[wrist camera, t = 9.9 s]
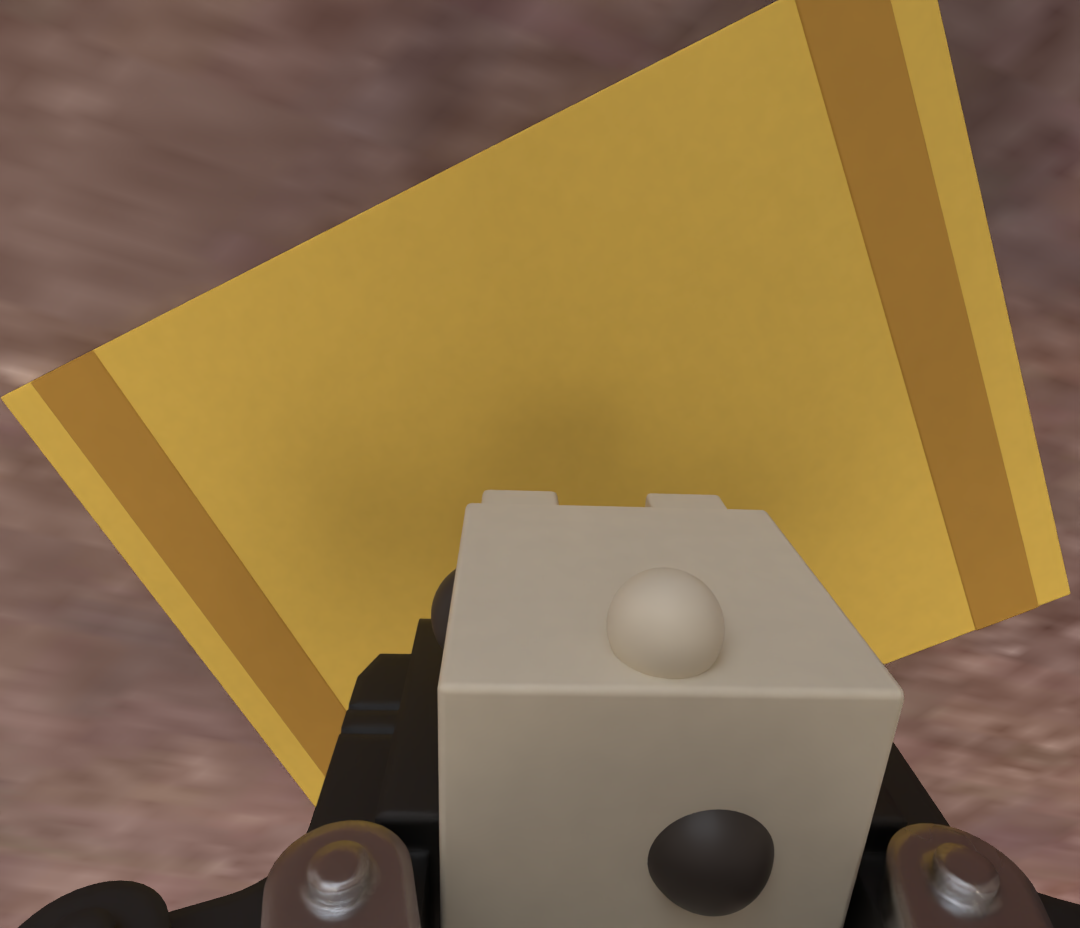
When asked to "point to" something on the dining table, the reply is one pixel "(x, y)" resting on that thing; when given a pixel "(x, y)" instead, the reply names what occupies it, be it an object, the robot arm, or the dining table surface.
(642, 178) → the towel
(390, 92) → the dining table surface
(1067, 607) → the dining table surface
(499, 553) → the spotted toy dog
